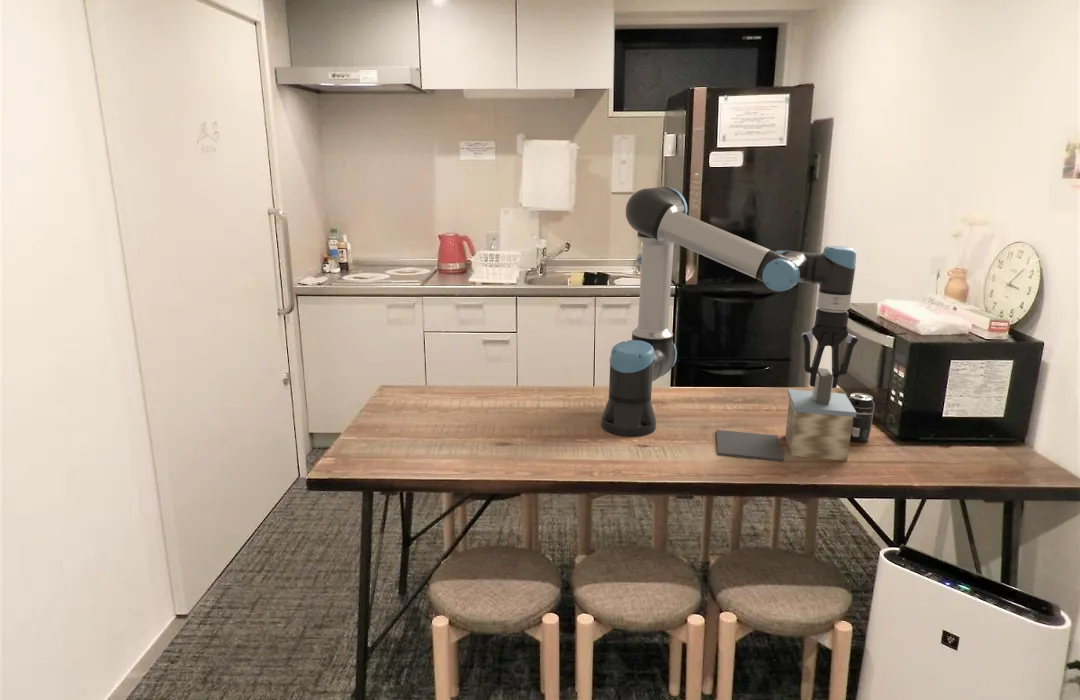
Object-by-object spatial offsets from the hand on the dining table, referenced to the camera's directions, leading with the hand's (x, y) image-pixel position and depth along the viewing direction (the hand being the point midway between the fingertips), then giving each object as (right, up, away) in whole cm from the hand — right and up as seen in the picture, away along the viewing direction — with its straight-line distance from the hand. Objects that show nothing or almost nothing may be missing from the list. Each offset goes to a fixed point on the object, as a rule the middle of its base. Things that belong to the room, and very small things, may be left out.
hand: (821, 398), depth 183 cm
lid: (0, -3, +1) cm, 3 cm away
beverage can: (+14, -12, +11) cm, 21 cm away
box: (0, -13, +4) cm, 14 cm away
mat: (-17, -13, +4) cm, 22 cm away
